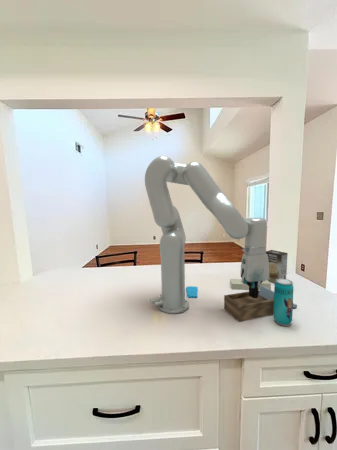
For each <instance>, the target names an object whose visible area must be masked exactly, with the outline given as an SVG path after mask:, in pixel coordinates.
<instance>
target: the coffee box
mask: <svg viewBox="0 0 337 450" xmlns="http://www.w3.org/2000/svg"><path fill="white" fill-rule="evenodd" d="M266 254H267V255H268V260H269V278H268V279H267V280H268V281H269V282H270V283H271V284H275V282H276V279H287V274H288V273H287V272H288V252H283V251H278V250H274V249H270V250H266Z"/></svg>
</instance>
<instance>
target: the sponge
mask: <svg viewBox="0 0 337 450" xmlns="http://www.w3.org/2000/svg"><path fill="white" fill-rule="evenodd" d="M185 294H186V296H187V297H188V299H197V298H198V286H186V287H185Z"/></svg>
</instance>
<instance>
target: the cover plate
mask: <svg viewBox="0 0 337 450" xmlns="http://www.w3.org/2000/svg"><path fill="white" fill-rule="evenodd" d="M258 295H260V296H262V297H263V298H265V299H267V300H271V299H274V290H272V289H271V290H270V289H268V288H266V287H264V286H261V288H260V290H259V294H258ZM294 308H295V309H297V308H298V305H297V304H296V303H294V302H293V309H294Z"/></svg>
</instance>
